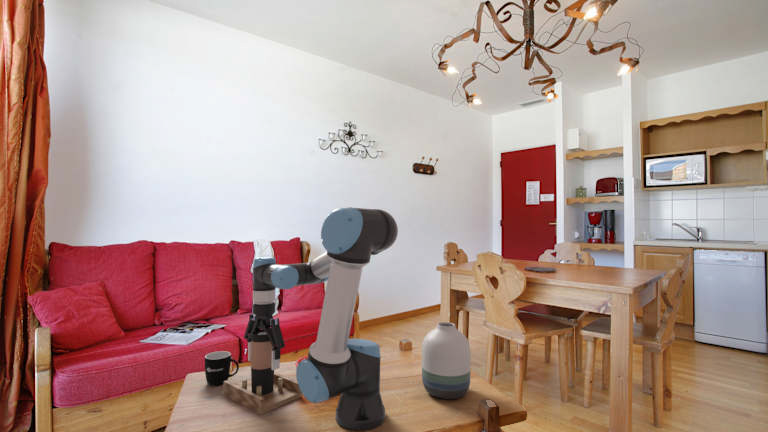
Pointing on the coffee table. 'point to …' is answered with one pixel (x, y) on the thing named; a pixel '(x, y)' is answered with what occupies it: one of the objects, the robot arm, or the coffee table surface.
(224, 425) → the coffee table surface
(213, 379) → the mug
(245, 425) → the coffee table surface
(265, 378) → the travel mug
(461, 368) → the vase
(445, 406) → the coffee table surface
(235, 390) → the peg stand
